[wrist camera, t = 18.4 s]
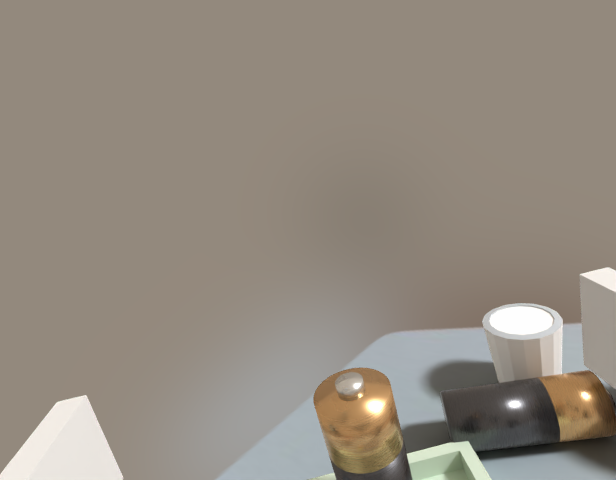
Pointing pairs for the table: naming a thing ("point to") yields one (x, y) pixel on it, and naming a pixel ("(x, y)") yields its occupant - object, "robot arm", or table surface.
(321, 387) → the cell
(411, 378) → the table surface
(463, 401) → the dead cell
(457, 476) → the trough
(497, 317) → the white cup
